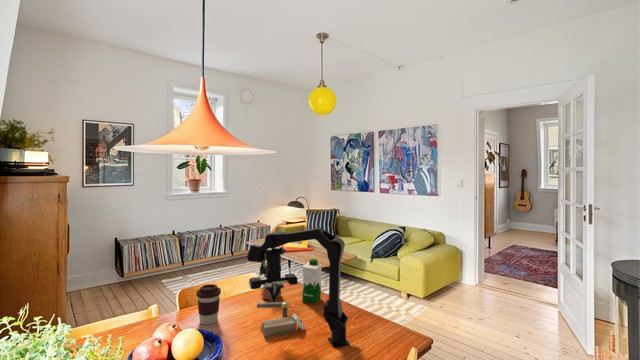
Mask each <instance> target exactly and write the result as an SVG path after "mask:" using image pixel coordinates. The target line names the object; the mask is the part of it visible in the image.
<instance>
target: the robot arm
mask: <svg viewBox="0 0 640 360" xmlns="http://www.w3.org/2000/svg"><path fill="white" fill-rule="evenodd" d="M312 240H315V241H317V242H318V243H319V244H320V245H321V247H322V248H324V249H325V250H326V254H327V258H328V261H329V280H328V281H329V282H328V283H329V284H328V285H329V286H328V299H326V301H325V302H324V304H323V317H324V321H325V322H326V324H328V327H329V330H330V333H331V334H330V337H327V341H328V342H329V344H331V346H332V347H333V348H334V349H335V348H336V349H337V348H341V347H345V346H349V345H350V342H349V341H348V340H347V325H346V324H347V323H348V319H349V317H348V316H347V315H346V313H345V311H344V310H343V305H342V301H341V297H340V294H341V266H342V265H341V264H342V258H343V255H344V250H345V246H346V244H345V240H343V239H342V238H340V237H336V236H335V235H333V234H332V233H330V232H328V231H326V230H324V228H322V227H320V226H319V227H315V228H309V229H303V230H297V231H289V232H288V231H278V230H276V231H274V232H273V231H272V232H271V233H268V234H267V235H266V236H265V238H264V242H263V244H262V245H256V244H250V246H249V250H248V251H247V255H246V256H247V261H248V262H250V263H260V264H261V263H262V264H263V262H264V261H265V262H266V268H265V266H264V265H263V266H259V275H263V276H264V278H265V279H264V278H263V279H261V278H260V276H256V277H249V279H248V285H249V287H250V289H251V290H259V289H260V288H261V287H262V286H264V287H265V289H266V290H268V291H269V293H270V297H271V300H270V301H271V303H272V302H276V300H277V299H278V298H277V296H278V293H279V292H280V290H281V291H282V289H284V288H285V286H284V283H288V284H289V285H290V286H293V285H298V284H299V283H298V277H297V276H296V275H295V274H294V273H286V274H284V276H282V265H281V264H282V255H284V254H286V252H287V250H286V249H285V248H284V247H283V245H287V244H289V243H298V242H304V241H312ZM281 276H282V277H281ZM272 283H274V291H273V287H272ZM276 298H277V299H276Z"/></svg>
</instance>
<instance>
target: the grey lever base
mask: <svg viewBox="0 0 640 360" xmlns="http://www.w3.org/2000/svg"><path fill="white" fill-rule="evenodd" d="M281 309H282V310H281V311H282V316H281V317H279V318H273V319H266V320H261V333H262V335H263V338H264V339H266V338H267V339H268V338H272V337H277V336H279V337H280V336H284V335H289V334H295V333H296V334H297V333H298V331H297V330H298V328H297V327H298V326H297V325H298V324H297V322H296V321H295V319H294V318H293V316H292V315H291V316H288V314H289V313H288V309H289V308H285V309H284V308H281Z"/></svg>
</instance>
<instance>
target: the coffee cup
mask: <svg viewBox="0 0 640 360" xmlns="http://www.w3.org/2000/svg"><path fill="white" fill-rule="evenodd" d="M221 292H222V289H221V287H219V286H217V285H216V284H211V283H209V284H204V285H201V287H200V288H199V289H197V290H196V292H195V293H196V297H197V309H198V314H199V316H198V318H199V323H200V324H201V325H205V326H207V325H212V324H215V323H216V322H217V321H218V320H219V319H218V317H219V309H220V295H221Z"/></svg>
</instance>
